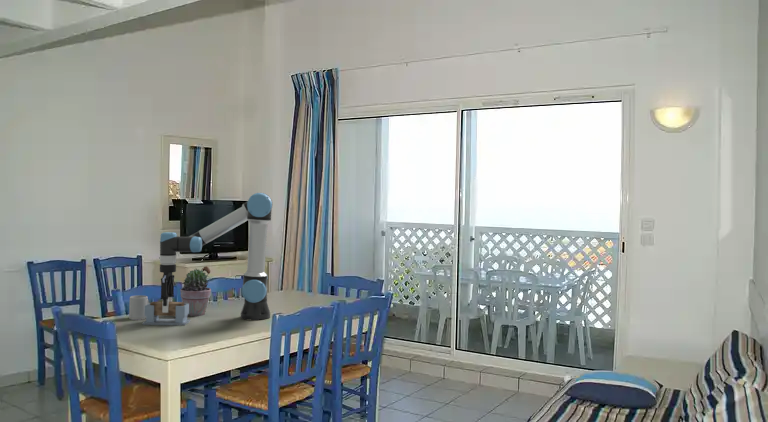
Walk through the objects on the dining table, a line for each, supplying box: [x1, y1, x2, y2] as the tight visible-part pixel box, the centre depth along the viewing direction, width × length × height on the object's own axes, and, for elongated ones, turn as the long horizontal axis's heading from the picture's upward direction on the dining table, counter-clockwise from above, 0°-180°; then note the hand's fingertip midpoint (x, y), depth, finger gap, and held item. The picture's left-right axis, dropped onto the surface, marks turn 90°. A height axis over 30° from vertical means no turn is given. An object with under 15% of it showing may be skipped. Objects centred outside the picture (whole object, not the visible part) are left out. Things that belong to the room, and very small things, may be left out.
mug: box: [128, 294, 150, 321], centre depth 315 cm, size 12×8×11 cm
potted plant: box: [179, 265, 212, 317], centre depth 327 cm, size 18×20×25 cm
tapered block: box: [149, 301, 184, 317], centre depth 304 cm, size 15×4×6 cm, turn 92°
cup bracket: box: [142, 302, 191, 326], centre depth 304 cm, size 20×10×9 cm, turn 92°
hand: (167, 311), depth 304 cm, fingers open, 5 cm apart
